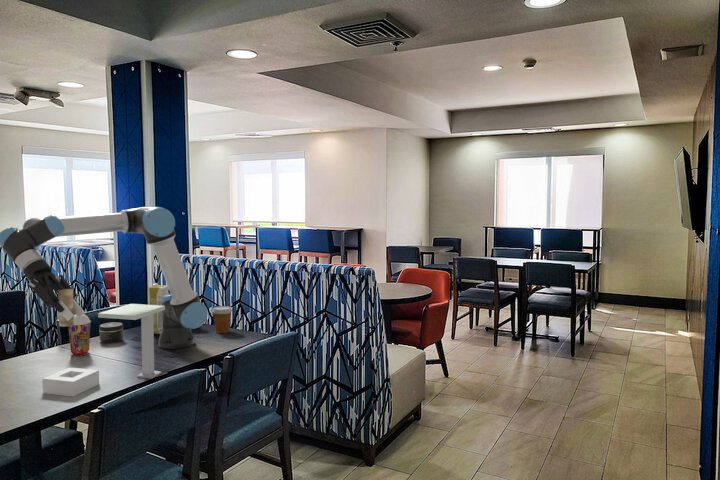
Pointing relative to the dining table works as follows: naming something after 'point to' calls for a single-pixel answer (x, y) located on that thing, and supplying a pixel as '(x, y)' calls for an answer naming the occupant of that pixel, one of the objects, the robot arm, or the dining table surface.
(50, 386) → the socket
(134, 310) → the white pedestal side table
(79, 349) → the smoothie
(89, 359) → the dining table surface
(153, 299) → the juice carton
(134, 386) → the dining table surface
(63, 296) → the peg
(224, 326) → the disposable coffee cup
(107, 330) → the jar
